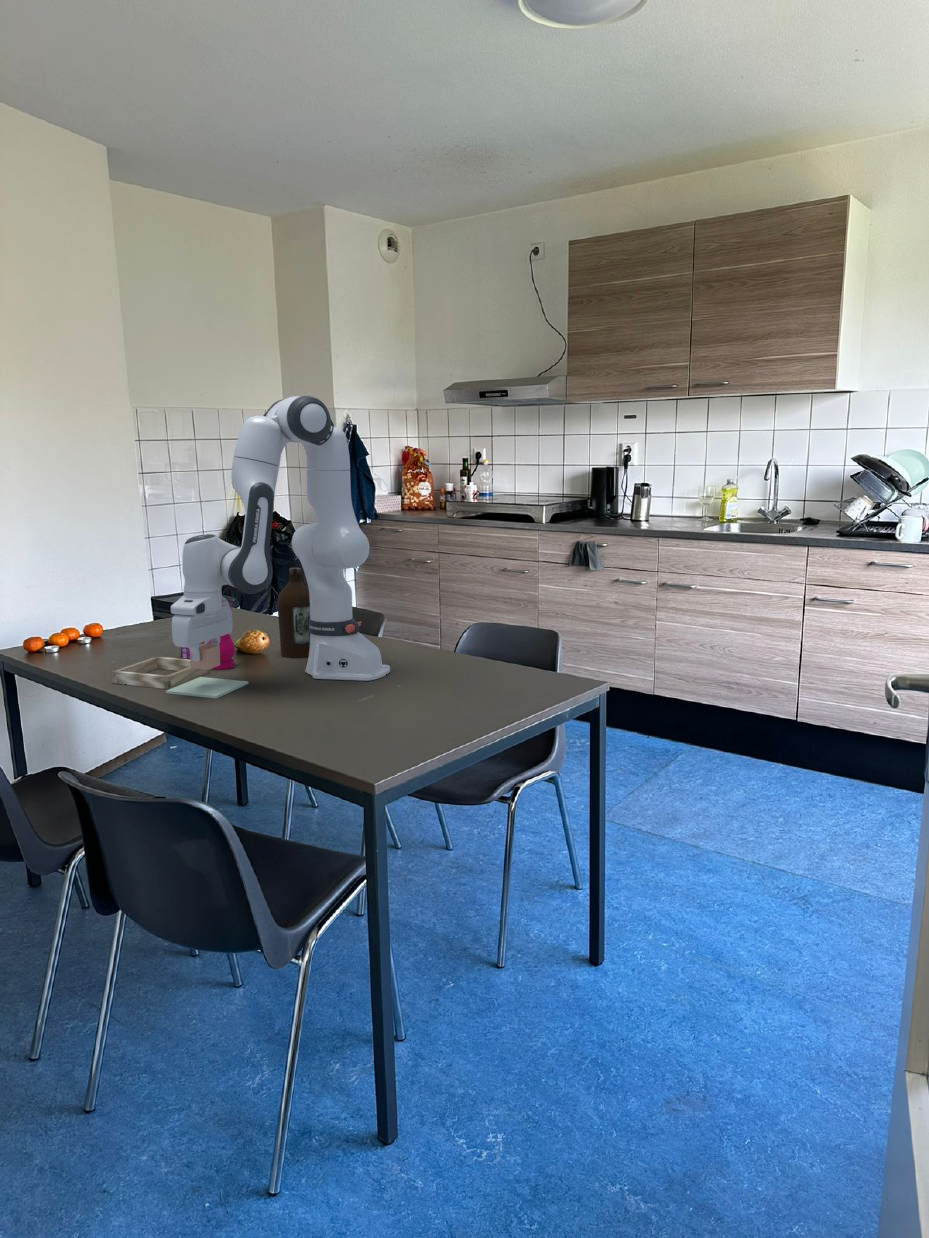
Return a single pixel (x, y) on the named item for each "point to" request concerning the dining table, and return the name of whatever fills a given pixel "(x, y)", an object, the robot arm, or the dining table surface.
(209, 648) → the cube
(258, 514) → the robot arm
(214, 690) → the mat
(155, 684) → the cubby frame
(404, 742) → the dining table surface
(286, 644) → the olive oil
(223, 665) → the pepper mill
